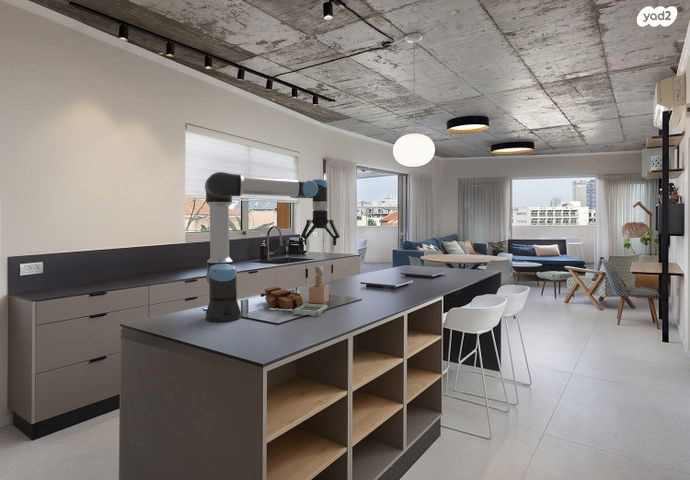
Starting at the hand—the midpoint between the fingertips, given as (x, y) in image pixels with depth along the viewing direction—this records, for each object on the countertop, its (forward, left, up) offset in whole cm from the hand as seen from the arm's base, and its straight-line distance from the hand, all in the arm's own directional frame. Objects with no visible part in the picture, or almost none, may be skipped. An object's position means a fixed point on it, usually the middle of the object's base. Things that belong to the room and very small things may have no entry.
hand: (320, 251), depth 218 cm
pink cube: (-1, +1, -27) cm, 27 cm away
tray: (+2, -19, -27) cm, 33 cm away
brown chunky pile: (-17, -11, -27) cm, 34 cm away
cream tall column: (-1, +1, -26) cm, 26 cm away
